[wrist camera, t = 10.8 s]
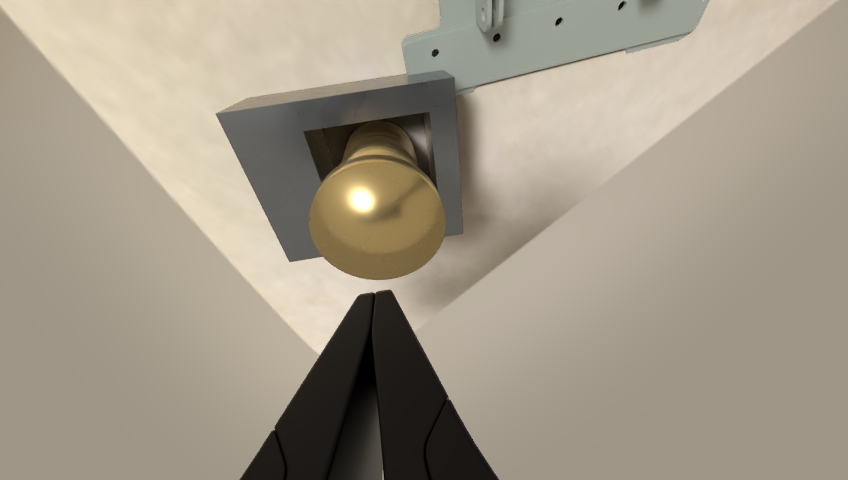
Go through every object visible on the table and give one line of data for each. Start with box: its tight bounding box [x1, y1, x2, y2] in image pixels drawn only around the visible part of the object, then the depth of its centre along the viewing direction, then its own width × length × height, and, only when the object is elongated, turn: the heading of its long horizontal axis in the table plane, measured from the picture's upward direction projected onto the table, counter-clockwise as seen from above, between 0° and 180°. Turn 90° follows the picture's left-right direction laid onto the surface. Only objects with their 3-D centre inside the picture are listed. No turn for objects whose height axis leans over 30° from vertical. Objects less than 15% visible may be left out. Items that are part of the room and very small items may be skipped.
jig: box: [216, 70, 463, 262], centre depth 16 cm, size 10×8×4 cm
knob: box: [309, 121, 446, 280], centre depth 14 cm, size 5×5×8 cm
